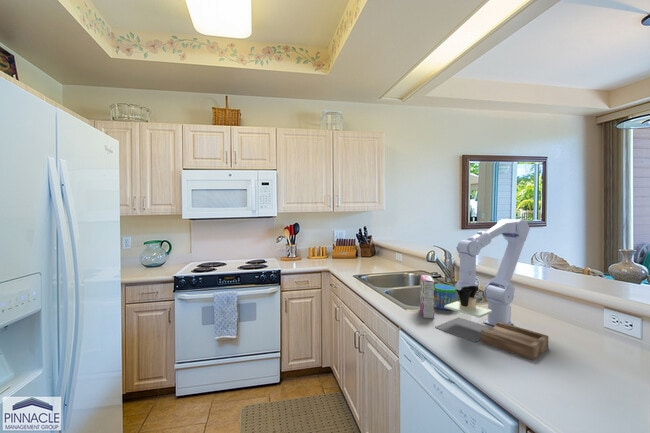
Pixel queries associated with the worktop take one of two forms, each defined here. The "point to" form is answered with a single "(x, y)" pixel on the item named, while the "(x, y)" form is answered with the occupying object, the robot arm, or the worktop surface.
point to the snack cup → (444, 295)
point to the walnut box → (515, 340)
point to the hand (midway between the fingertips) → (466, 305)
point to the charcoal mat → (464, 328)
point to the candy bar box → (427, 296)
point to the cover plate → (474, 313)
